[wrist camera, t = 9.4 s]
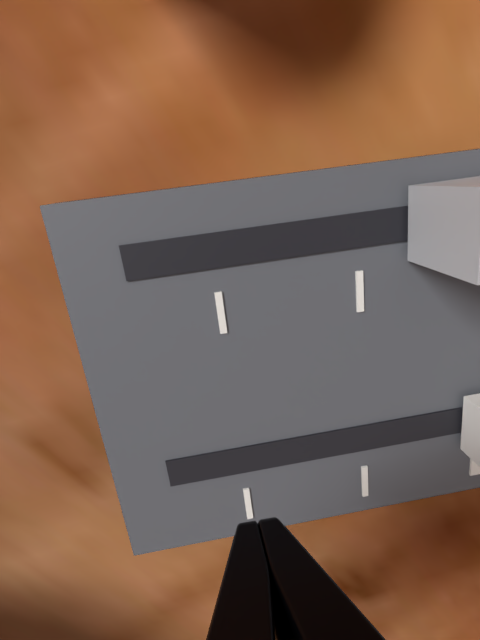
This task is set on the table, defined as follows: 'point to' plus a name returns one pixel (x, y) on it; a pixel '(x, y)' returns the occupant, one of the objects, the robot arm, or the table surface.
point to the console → (269, 347)
